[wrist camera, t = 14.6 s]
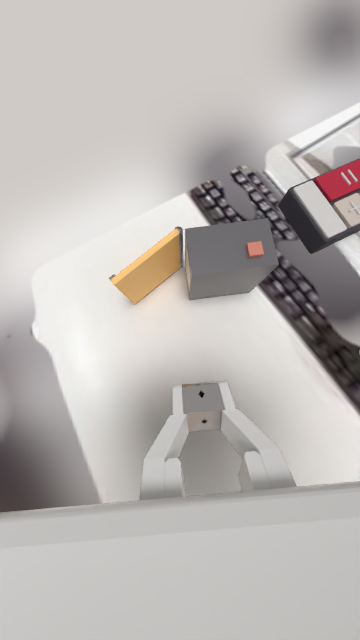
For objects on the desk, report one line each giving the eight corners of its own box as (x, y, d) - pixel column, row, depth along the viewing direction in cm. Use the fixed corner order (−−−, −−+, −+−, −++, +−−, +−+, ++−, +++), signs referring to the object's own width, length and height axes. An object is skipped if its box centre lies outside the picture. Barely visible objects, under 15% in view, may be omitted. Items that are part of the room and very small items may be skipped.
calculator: (407, 203, 29) (330, 239, 28) (378, 222, 34) (309, 255, 32) (365, 152, 31) (290, 184, 30) (343, 176, 35) (276, 205, 34)
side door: (135, 304, 31) (114, 285, 22) (129, 298, 31) (107, 276, 22) (184, 264, 32) (184, 230, 23) (178, 258, 32) (176, 222, 23)
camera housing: (249, 292, 31) (281, 261, 20) (189, 300, 31) (191, 273, 21) (241, 252, 32) (267, 204, 22) (184, 259, 32) (183, 215, 22)
